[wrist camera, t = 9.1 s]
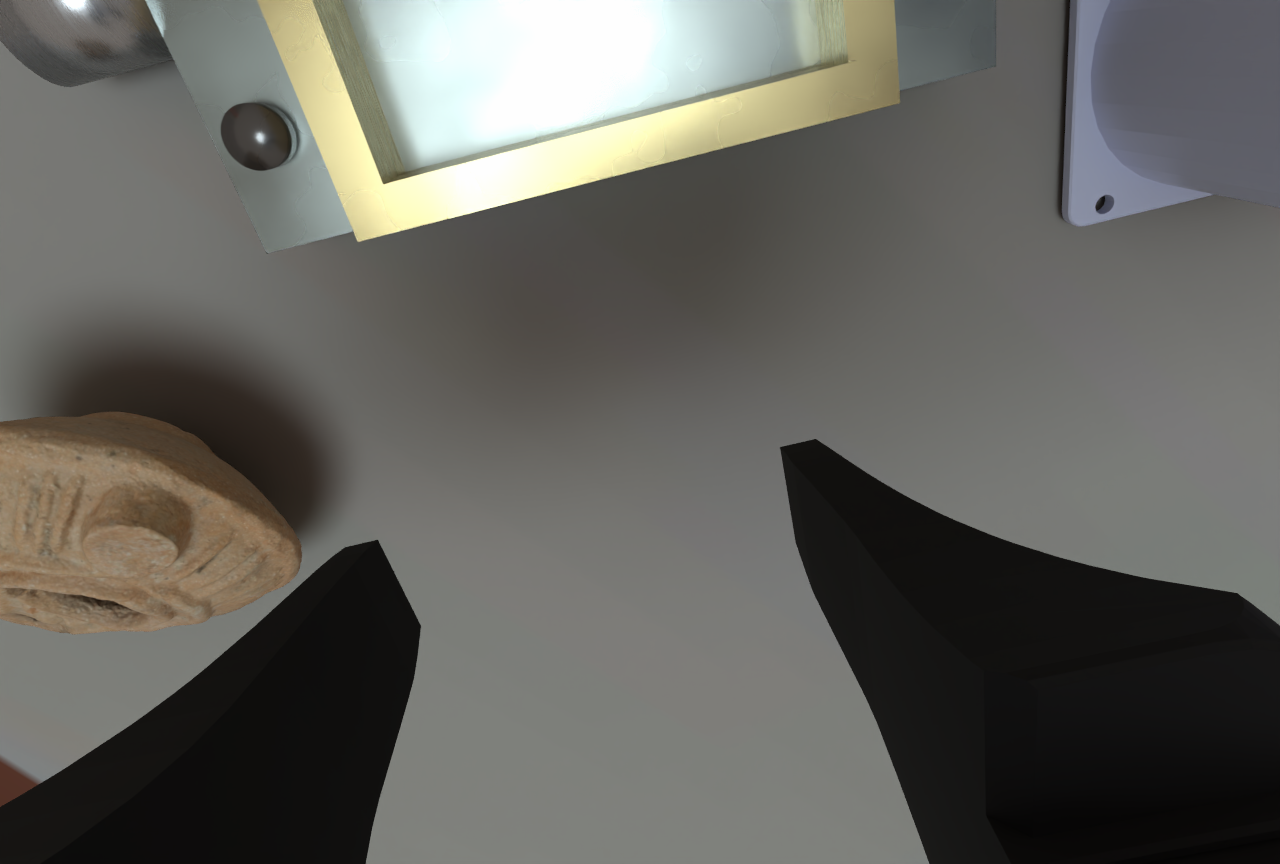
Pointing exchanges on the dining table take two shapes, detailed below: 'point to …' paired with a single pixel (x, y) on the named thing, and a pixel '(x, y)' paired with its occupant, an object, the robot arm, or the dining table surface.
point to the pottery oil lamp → (129, 527)
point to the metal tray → (491, 88)
